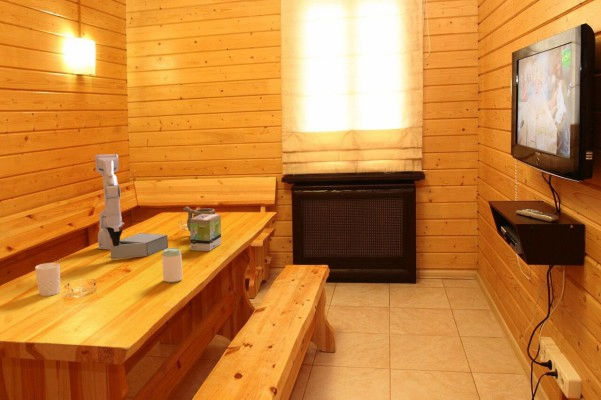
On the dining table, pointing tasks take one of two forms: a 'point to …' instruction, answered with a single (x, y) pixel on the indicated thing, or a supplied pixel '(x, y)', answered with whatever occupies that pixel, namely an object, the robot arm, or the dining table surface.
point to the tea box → (205, 232)
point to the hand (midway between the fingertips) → (115, 244)
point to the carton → (148, 241)
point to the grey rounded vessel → (197, 213)
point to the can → (172, 265)
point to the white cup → (48, 278)
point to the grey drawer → (128, 250)
